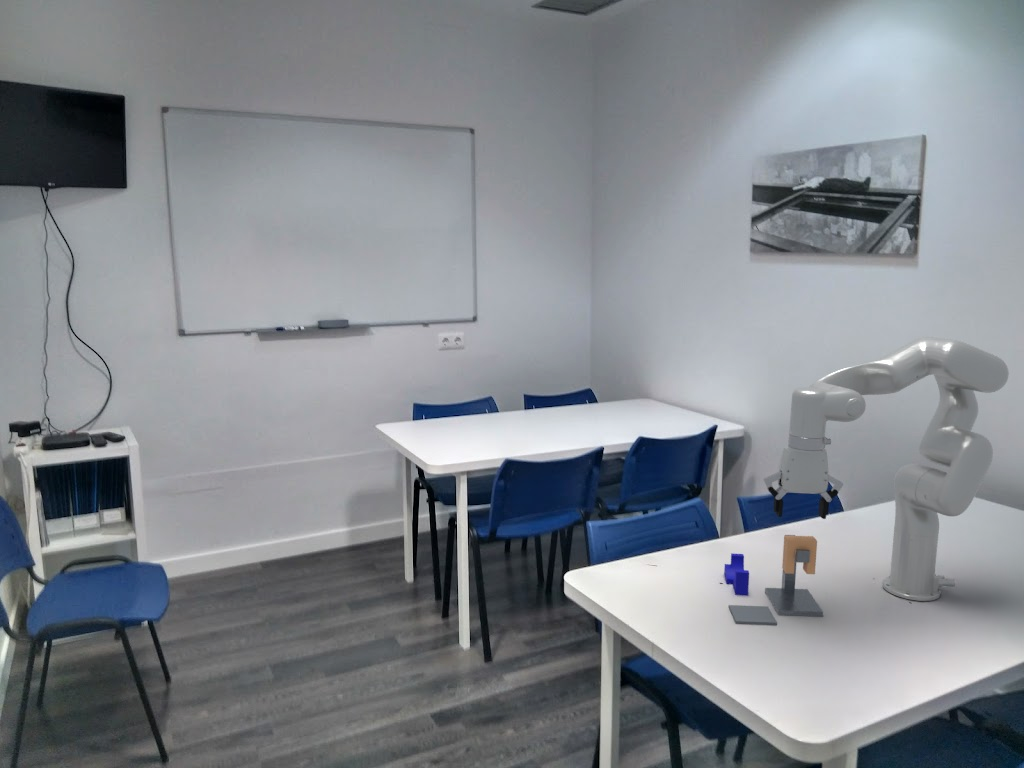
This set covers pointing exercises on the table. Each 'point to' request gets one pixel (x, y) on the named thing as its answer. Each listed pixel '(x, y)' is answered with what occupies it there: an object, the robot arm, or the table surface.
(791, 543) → the c link
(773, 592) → the stand
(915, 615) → the table surface
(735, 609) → the mat
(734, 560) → the blue toy block
